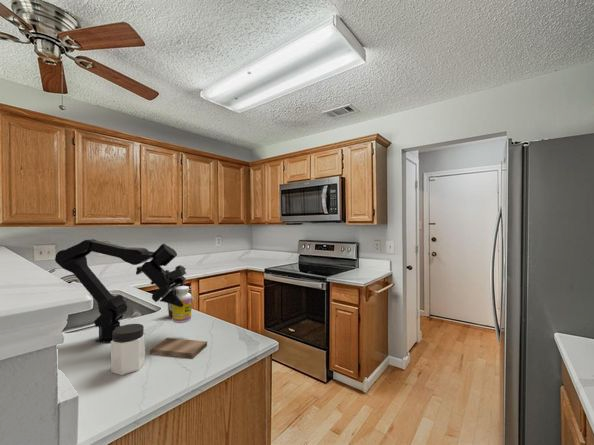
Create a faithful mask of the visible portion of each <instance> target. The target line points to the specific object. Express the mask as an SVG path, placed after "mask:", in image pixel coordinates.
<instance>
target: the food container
mask: <svg viewBox="0 0 594 445" xmlns="http://www.w3.org/2000/svg"><path fill="white" fill-rule="evenodd" d="M190 294H191V307H192V304H193V301H194V300H195V299H194V296H193V294H192V293H190ZM167 310H168V318H169V319H173V304H169V303H167Z"/></svg>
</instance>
